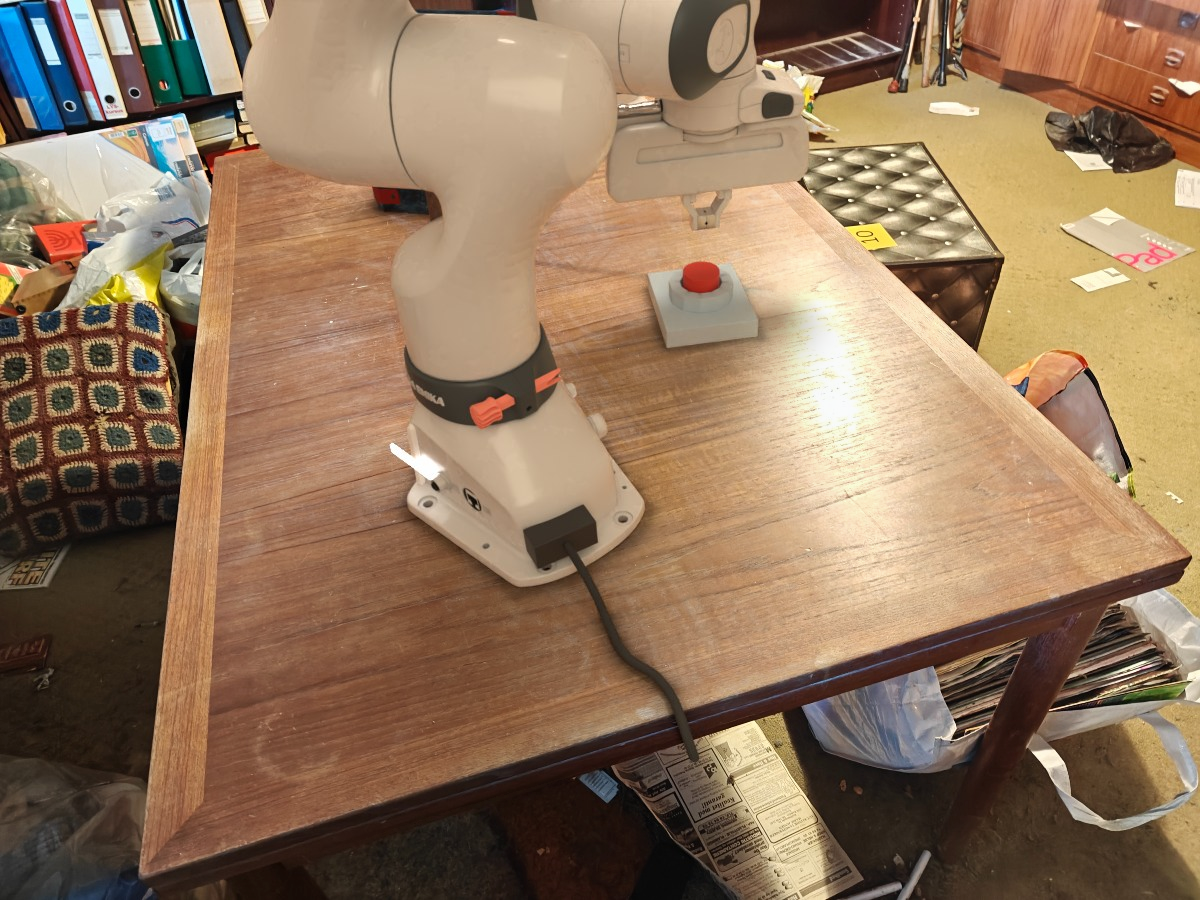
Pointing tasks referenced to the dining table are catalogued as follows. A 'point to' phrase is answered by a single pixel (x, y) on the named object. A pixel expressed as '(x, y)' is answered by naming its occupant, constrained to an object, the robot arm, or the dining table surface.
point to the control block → (701, 309)
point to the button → (701, 277)
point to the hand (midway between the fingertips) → (704, 226)
